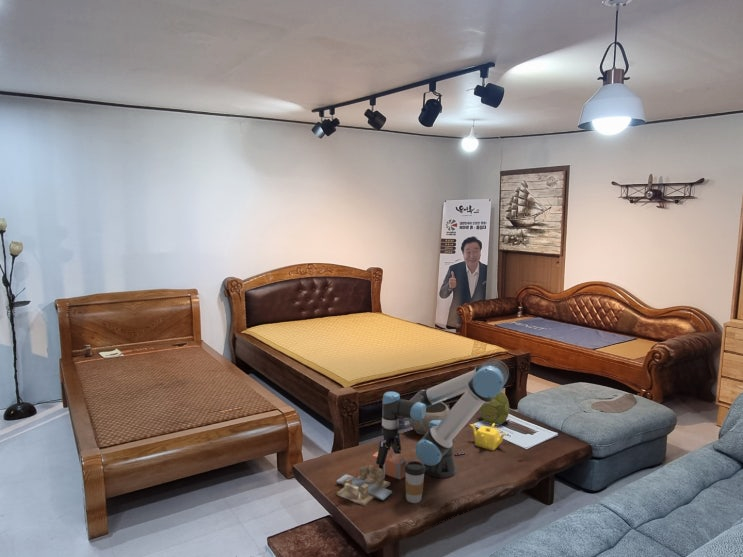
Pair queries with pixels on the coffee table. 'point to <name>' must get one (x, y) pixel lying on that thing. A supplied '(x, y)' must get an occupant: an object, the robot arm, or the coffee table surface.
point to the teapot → (487, 437)
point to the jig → (364, 486)
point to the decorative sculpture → (496, 409)
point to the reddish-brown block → (392, 466)
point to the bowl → (429, 417)
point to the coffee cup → (414, 481)
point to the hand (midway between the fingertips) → (388, 471)
